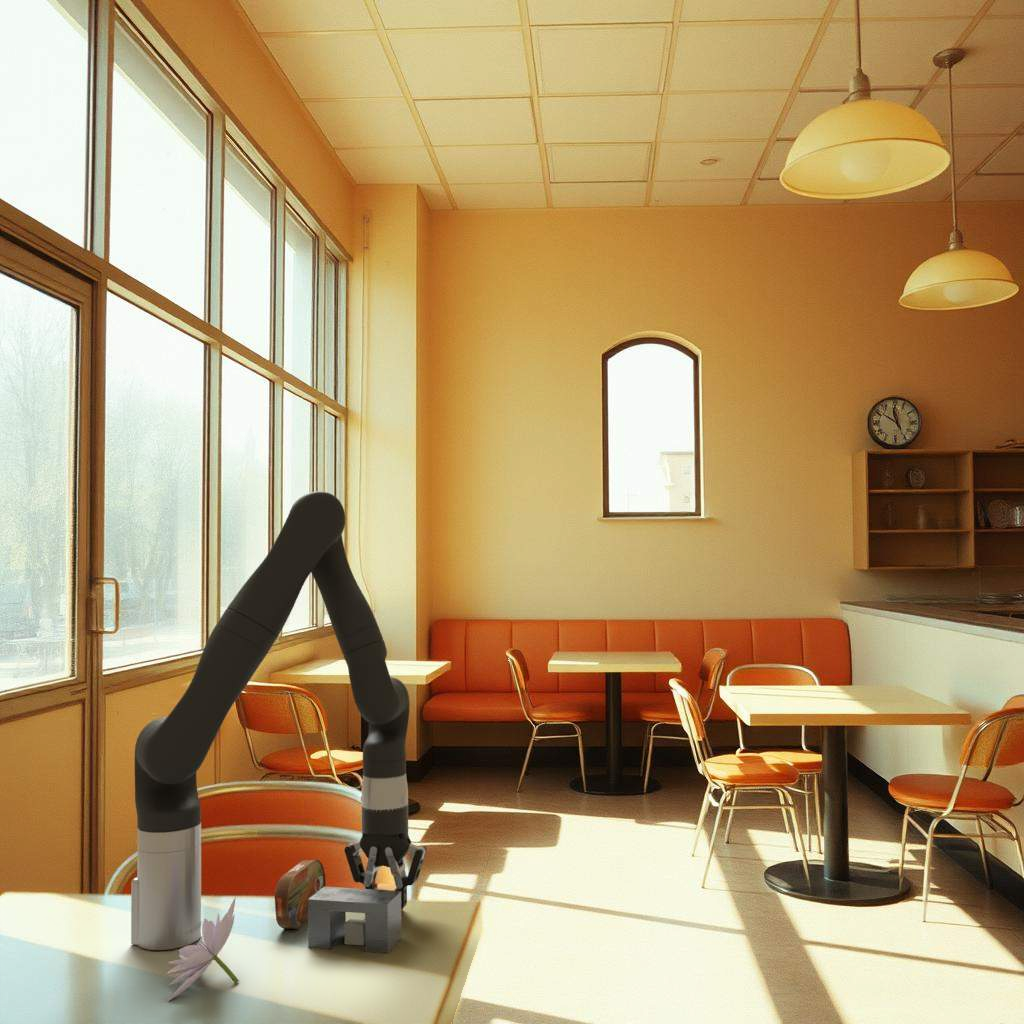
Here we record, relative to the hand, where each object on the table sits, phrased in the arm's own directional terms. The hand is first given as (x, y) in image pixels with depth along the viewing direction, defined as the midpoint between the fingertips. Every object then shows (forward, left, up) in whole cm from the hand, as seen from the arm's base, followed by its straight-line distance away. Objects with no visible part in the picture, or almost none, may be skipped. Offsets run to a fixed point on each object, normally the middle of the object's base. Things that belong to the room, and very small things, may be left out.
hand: (386, 908), depth 163 cm
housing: (0, -13, -1) cm, 13 cm away
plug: (0, -6, -1) cm, 6 cm away
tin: (-13, -5, -1) cm, 14 cm away
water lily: (-16, -30, -1) cm, 34 cm away
